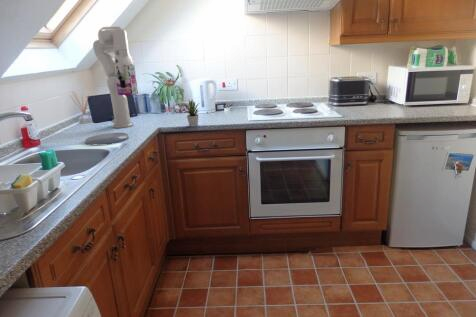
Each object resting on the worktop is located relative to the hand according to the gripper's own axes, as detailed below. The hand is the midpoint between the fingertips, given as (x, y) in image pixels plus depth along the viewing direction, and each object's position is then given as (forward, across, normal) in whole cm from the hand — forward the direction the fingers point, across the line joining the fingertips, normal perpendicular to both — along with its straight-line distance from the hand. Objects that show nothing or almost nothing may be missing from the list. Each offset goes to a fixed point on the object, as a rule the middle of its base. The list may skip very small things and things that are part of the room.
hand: (127, 86), depth 200 cm
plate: (+26, -19, +1) cm, 32 cm away
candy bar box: (+5, 0, 0) cm, 5 cm away
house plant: (+26, +25, -24) cm, 44 cm away
